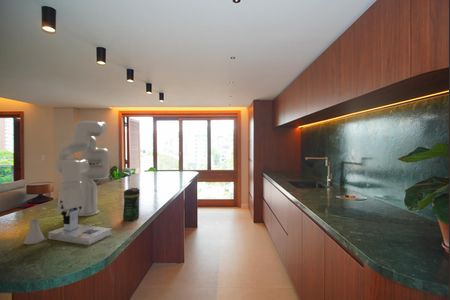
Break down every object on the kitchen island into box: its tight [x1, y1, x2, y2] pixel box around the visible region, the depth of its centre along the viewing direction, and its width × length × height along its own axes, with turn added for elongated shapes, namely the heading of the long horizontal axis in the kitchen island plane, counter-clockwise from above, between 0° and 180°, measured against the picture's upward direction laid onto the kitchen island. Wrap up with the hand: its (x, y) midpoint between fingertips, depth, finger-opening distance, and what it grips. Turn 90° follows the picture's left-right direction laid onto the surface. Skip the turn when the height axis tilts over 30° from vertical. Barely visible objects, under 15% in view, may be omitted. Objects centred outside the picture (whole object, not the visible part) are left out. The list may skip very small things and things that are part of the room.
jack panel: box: [48, 223, 112, 246], centre depth 110 cm, size 24×13×4 cm, turn 74°
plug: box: [63, 209, 79, 231], centre depth 112 cm, size 5×4×12 cm
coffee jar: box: [122, 187, 140, 222], centre depth 139 cm, size 10×8×19 cm
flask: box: [22, 218, 45, 246], centre depth 104 cm, size 7×7×10 cm
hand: (71, 222), depth 112 cm, fingers closed on plug, 4 cm apart
